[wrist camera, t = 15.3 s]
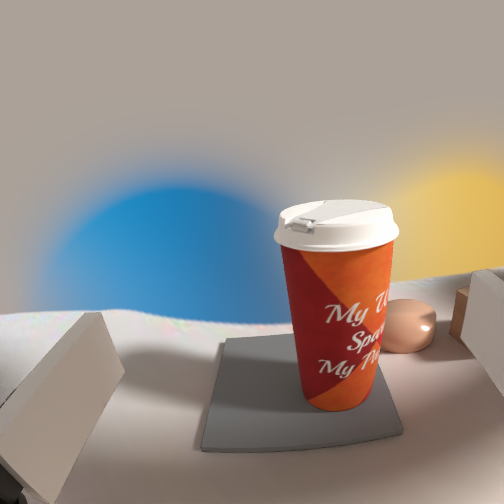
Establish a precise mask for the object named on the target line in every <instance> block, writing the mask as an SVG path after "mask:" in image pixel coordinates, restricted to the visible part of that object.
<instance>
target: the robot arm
mask: <svg viewBox="0 0 504 504" xmlns="http://www.w3.org/2000/svg"><path fill="white" fill-rule="evenodd" d="M460 338H461V339H462V341H463V342H464V343H465V344H466V346H467V347H468V348H469V350H470V351H471V352H472V354H473V355H474V356H475V358H476V359H477V360H478V362H479V363H480V364H481V366H482V367H483V368H484V370H485V371H486V373H487V374H488V375H489V377H490V378H491V380H492V381H493V382H494V384H495V385H496V387H497V388H498V390H499V391H500V393H501V394H502V396H503V397H504V281H503V280H501V279H500V278H499V277H498V276H496V275H495V274H494V273H492V272H491V271H490V270H488V269H485V270H480V271H474V272H472V275H471V283H470V289H469V296H468V301H467V307H466V312H465V318H464V323H463V327H462V332H461V336H460ZM124 373H125V370H124V368H123V365H122V363H121V361H120V359H119V356H118V354H117V352H116V349H115V347H114V344H113V342H112V340H111V337H110V335H109V332H108V329H107V327H106V324H105V322H104V319H103V316H102V314H101V312H96V313H84V314H83V316H82V317H81V318H80V319H79V320H78V321H77V322H76V323H75V324H74V325H73V326H72V327H71V328H70V329H69V330H68V331H67V332H66V333H65V335H64V336H63V337H62V338H61V339H60V340H59V341H58V342H57V343H56V344H55V345H54V346H53V348H52V349H51V350H50V351H49V352H48V353H47V354H46V355H45V356H44V358H43V359H42V360H41V361H40V362H39V363H38V364H37V365H36V367H35V368H34V369H33V370H32V371H31V372H30V374H29V375H28V376H27V377H26V378H25V379H24V381H23V382H22V383H21V384H20V385H19V386H18V387H17V388H16V389H15V390H14V391H13V392H12V393H11V394H10V395H9V397H8V398H7V399H6V402H4V403H3V404H2V405H1V406H0V504H27V501H26V498H25V496H24V495H23V494H22V493H21V491H22V489H23V488H25V489H26V490H27V491H28V492H29V493H30V494H31V495H32V496H33V497H35V498H36V499H38V500H40V501H42V502H44V503H47V504H54V503H55V501H56V499H57V497H58V495H59V493H60V491H61V489H62V487H63V485H64V483H65V481H66V479H67V477H68V475H69V473H70V471H71V469H72V467H73V466H74V464H75V462H76V460H77V458H78V456H79V454H80V452H81V450H82V448H83V447H84V445H85V443H86V441H87V439H88V437H89V435H90V433H91V432H92V430H93V428H94V426H95V424H96V422H97V421H98V419H99V417H100V415H101V413H102V412H103V410H104V408H105V406H106V404H107V403H108V401H109V399H110V397H111V396H112V394H113V392H114V390H115V389H116V387H117V385H118V383H119V382H120V380H121V378H122V376H123V375H124Z"/></svg>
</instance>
